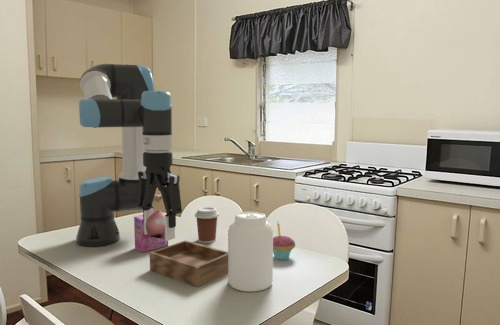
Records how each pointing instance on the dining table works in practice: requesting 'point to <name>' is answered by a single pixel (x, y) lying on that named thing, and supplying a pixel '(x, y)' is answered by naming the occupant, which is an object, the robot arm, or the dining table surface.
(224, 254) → the wooden tray
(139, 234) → the box
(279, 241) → the cupcake
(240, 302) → the dining table surface
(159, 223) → the onion
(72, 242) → the dining table surface
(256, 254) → the white lidded jar
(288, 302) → the dining table surface
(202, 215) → the coffee cup
